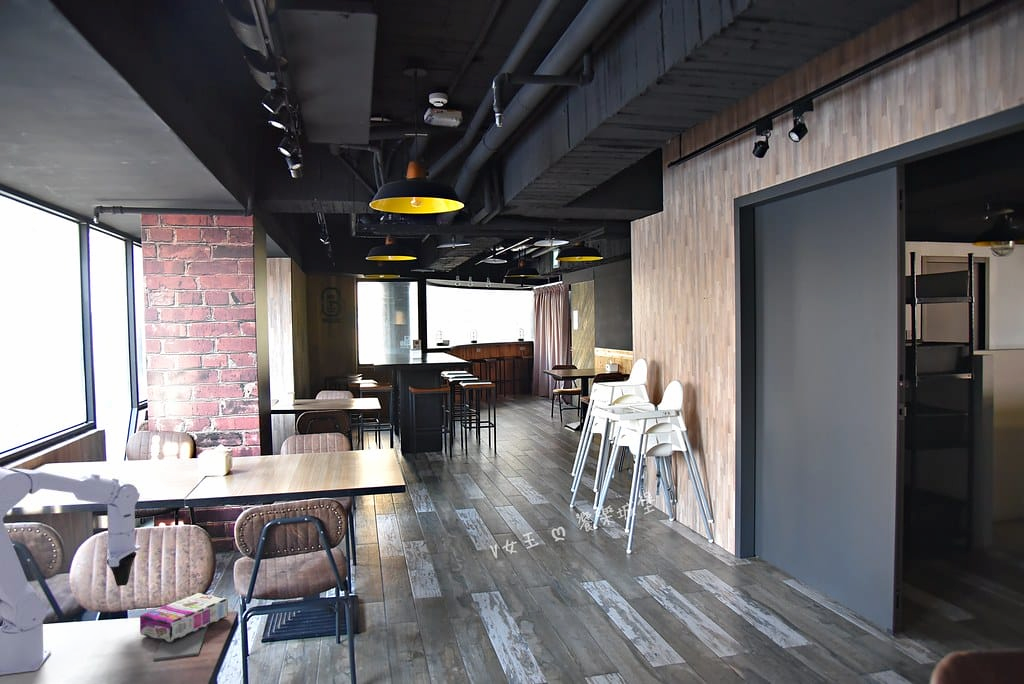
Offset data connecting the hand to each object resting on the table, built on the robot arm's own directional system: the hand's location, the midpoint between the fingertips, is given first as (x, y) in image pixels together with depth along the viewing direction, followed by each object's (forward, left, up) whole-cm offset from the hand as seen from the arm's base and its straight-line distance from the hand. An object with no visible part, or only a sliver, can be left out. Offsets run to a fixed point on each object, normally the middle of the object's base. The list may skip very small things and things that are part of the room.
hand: (122, 584), depth 161 cm
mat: (+16, -13, -10) cm, 23 cm away
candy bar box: (+9, -12, -7) cm, 16 cm away
